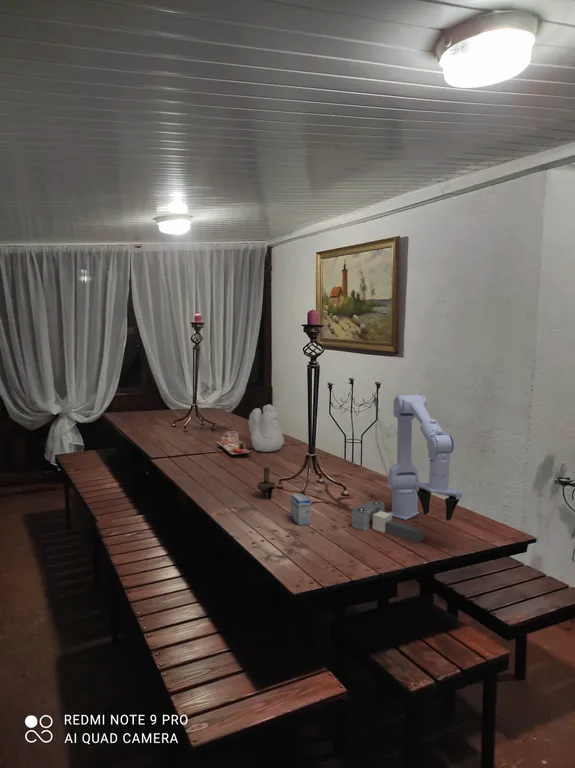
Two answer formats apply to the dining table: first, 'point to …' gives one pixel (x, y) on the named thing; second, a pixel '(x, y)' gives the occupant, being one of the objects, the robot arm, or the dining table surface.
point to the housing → (365, 514)
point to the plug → (396, 527)
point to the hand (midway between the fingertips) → (437, 516)
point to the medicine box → (300, 509)
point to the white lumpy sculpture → (265, 429)
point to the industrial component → (266, 485)
